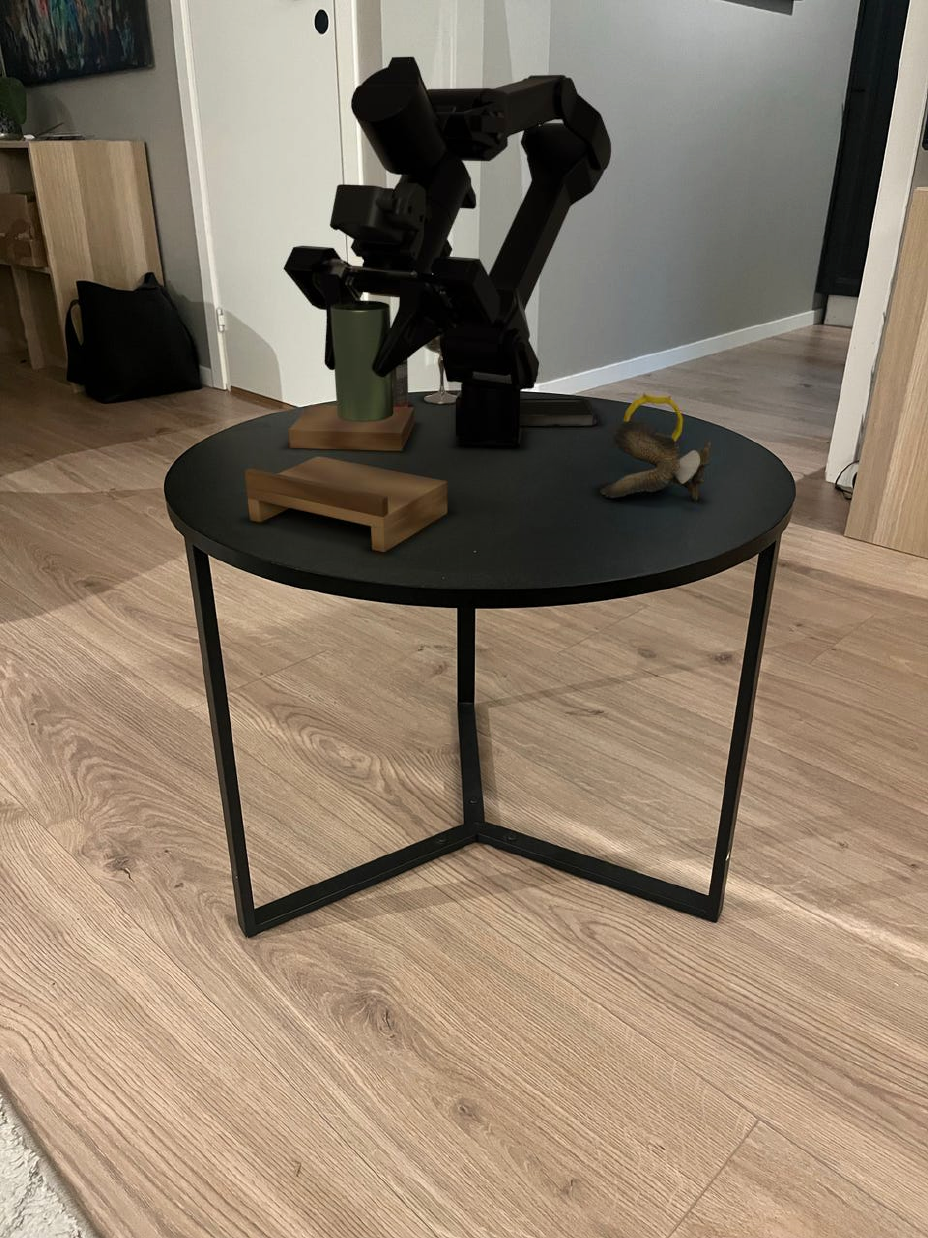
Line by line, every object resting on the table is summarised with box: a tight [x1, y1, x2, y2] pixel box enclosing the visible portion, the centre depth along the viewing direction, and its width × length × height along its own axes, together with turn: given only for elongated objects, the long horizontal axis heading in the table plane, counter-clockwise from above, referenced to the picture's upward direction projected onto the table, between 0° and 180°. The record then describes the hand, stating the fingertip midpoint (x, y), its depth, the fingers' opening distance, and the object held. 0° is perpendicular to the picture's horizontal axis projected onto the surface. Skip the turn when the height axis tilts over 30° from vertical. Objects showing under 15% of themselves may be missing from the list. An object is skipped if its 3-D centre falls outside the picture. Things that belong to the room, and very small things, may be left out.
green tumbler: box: [331, 300, 394, 422], centre depth 80 cm, size 5×5×9 cm
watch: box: [622, 390, 684, 443], centre depth 99 cm, size 6×3×6 cm, turn 89°
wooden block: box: [288, 404, 415, 452], centre depth 104 cm, size 12×10×2 cm
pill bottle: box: [392, 359, 409, 407], centre depth 113 cm, size 5×5×8 cm
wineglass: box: [423, 335, 457, 405], centre depth 116 cm, size 6×6×12 cm
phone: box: [520, 397, 598, 427], centre depth 111 cm, size 8×1×15 cm
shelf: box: [244, 455, 448, 553], centre depth 82 cm, size 10×14×4 cm
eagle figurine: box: [599, 419, 712, 502], centre depth 87 cm, size 8×7×9 cm
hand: (353, 370), depth 79 cm, fingers closed on green tumbler, 5 cm apart
